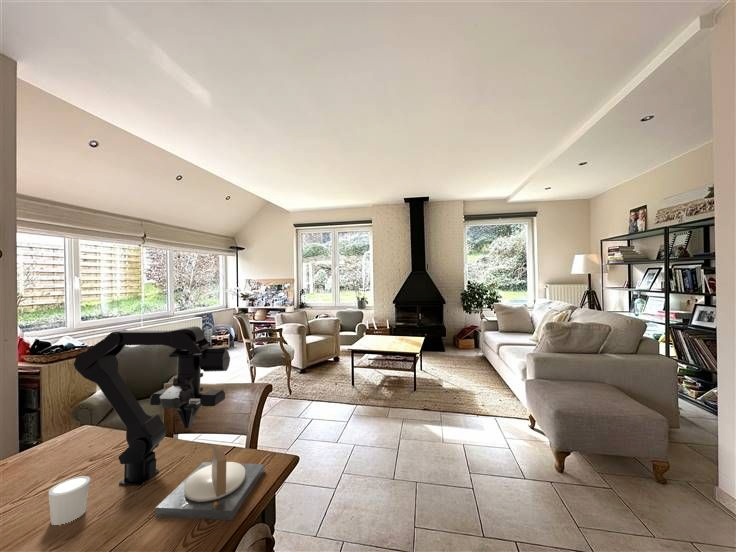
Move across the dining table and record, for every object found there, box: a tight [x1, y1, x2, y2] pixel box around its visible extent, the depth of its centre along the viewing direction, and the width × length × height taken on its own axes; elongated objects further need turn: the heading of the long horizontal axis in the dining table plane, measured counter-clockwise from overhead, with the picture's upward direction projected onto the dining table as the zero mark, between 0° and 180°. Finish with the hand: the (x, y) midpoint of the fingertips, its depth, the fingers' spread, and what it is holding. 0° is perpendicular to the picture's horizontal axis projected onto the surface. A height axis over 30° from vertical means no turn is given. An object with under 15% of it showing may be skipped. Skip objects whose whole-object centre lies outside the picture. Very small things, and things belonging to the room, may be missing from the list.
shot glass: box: [48, 475, 91, 526], centre depth 69 cm, size 7×7×7 cm
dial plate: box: [154, 461, 265, 521], centre depth 77 cm, size 18×18×2 cm
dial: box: [184, 444, 245, 502], centre depth 77 cm, size 15×14×9 cm
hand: (187, 427), depth 84 cm, fingers closed
